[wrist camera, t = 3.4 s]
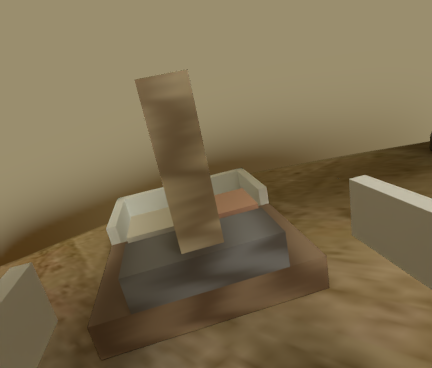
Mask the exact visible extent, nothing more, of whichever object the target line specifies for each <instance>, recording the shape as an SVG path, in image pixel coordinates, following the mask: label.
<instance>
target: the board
mask: <svg viewBox="0 0 432 368" xmlns="http://www.w3.org/2000/svg"><path fill="white" fill-rule="evenodd" d="M261 207H262V208H263V209H264V210H265V211H266V212H267V213H268V214H269V215H270V216H271V217H272V218H273V219H274V220H275V221H276V222H277V223H278V224H279V226H280V227H281V228H282V229H283V230H284V231H285V232H286V239H287V247H288V254H289V262H290V267H287V268H284V269H280V270H277V271H274V272H271V273H267V274H264V275H261V276H257V277H254V278H251V279H247V280H244V281H241V282H237V283H234V284H231V285H227V286H224V287H221V288H217V289H214V290H211V291H208V292H204V293H201V294H198V295H194V296H191V297H188V298H184V299H181V300H178V301H174V302H171V303H168V304H164V305H161V306H158V307H154V308H151V309H148V310H144V311H141V312H138V313H135V314H131V313H130V310H129V308H128V305H127V302H126V299H125V296H124V294H123V291H122V288H121V285H120V282H119V280H118V278H119V273H120V268H121V263H122V258H123V254H124V249H125V244H127V243H128V241H126V242H122V243H119V244H115V245H112V247H111V250H110V253H109V257H108V260H107V263H106V267H105V270H104V273H103V277H102V280H101V284H100V287H99V290H98V294H97V297H96V300H95V304H94V307H93V310H92V314H91V317H90V320H89V324H88V327H87V328H88V330H89V333H90V335H91V337H92V340H93V342H94V345H95V347H96V349H97V352H98V354H99V356H100V359H101V360H103V359H106V358H110V357H113V356H116V355H119V354H122V353H125V352H129V351H132V350H135V349H138V348H141V347H144V346H147V345H151V344H154V343H157V342H160V341H163V340H166V339H169V338H173V337H176V336H179V335H182V334H185V333H188V332H192V331H195V330H198V329H201V328H204V327H207V326H210V325H214V324H217V323H220V322H223V321H226V320H229V319H232V318H236V317H239V316H242V315H245V314H248V313H251V312H254V311H258V310H261V309H264V308H267V307H270V306H273V305H277V304H280V303H283V302H286V301H289V300H292V299H295V298H299V297H302V296H305V295H308V294H311V293H314V292H317V291H321V290H324V289H327V288H329V278H328V267H327V256H326V255H325V254H324V253H323V252H322V251H321V250H320V249H319V248H318V247H317V246H315V245H314V244H313V243H312V242H311V241H310V240H309V239H308V238H307V237H306V236H304V235H303V234H302V233H301V232H300V231H299V230H298V229H297V228H296V227H295V226H293V225H292V224H291V223H290V222H289V221H288V220H287V219H286V218H285V217H284V216H283V215H281V214H280V213H279V212H278V211H277V210H276V209H275V208H274V207H273V206H272V205H270V204H269V203H268V204H264V205H260V206H258V208H261Z"/></svg>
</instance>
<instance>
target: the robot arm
mask: <svg viewBox="0 0 432 368" xmlns="http://www.w3.org/2000/svg"><path fill="white" fill-rule="evenodd" d="M430 150H431V151H432V133H431V136H430ZM349 186H350V205H351V224H352V235H353V236H354V237H356V238H357V239H358V240H360V241H361V242H363V243H364V244H366V245H367V246H369V247H370V248H372V249H373V250H375V251H376V252H377V253H379V254H380V255H382V256H383V257H385V258H386V259H388V260H389V261H391V262H392V263H394V264H395V265H396V266H398V267H399V268H401V269H402V270H404V271H405V272H407V273H408V274H410V275H411V276H413V277H414V278H415V279H417V280H418V281H420V282H421V283H423V284H424V285H426V286H427V287H429V288H430V289H432V198H429V197H426V196H423V195H420V194H417V193H415V192H412V191H409V190H406V189H403V188H401V187H398V186H395V185H392V184H389V183H386V182H384V181H381V180H378V179H375V178H372V177H370V176H367V175H363V176H359V177H355V178H351V179H349ZM57 322H58V320H57V317H56V315H55V313H54V311H53V309H52V306H51V304H50V302H49V300H48V297H47V295H46V293H45V291H44V289H43V286H42V284H41V282H40V280H39V278H38V275H37V273H36V271H35V269H34V266H33V264H32V262H31V263H27V264H24V265H20V266H16V267H12V268H10V269H9V270H8V271H7V272H6V273H5V274H4V276H3V277H2V278H1V279H0V368H37V367H38V365H39V362H40V360H41V358H42V356H43V353H44V351H45V349H46V347H47V344H48V342H49V340H50V338H51V335H52V333H53V331H54V329H55V326H56V324H57Z"/></svg>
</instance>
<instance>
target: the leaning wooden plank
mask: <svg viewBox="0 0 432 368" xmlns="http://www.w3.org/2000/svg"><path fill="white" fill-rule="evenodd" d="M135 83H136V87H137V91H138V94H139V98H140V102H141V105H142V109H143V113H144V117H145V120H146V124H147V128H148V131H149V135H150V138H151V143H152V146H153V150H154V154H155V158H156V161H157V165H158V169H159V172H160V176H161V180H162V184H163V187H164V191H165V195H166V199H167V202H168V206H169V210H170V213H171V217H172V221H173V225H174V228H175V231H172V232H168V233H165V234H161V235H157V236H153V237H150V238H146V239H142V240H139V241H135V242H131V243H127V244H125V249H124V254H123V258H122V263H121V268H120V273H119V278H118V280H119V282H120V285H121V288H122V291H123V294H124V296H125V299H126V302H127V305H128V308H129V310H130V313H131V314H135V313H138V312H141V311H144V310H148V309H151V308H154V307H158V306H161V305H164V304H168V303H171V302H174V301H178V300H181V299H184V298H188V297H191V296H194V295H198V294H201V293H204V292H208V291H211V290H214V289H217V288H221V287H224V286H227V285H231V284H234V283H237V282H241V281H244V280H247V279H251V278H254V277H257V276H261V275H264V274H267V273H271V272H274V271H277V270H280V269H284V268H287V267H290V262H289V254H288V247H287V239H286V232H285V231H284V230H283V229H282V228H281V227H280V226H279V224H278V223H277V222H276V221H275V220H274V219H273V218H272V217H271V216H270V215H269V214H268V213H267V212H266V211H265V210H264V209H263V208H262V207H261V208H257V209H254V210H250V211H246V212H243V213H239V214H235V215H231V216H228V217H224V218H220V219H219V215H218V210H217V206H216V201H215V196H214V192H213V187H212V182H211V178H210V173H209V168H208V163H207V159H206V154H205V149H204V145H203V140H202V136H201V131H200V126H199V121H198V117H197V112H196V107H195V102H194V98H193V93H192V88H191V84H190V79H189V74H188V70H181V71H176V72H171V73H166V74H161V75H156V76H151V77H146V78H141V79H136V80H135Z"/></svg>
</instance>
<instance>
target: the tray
mask: <svg viewBox="0 0 432 368" xmlns="http://www.w3.org/2000/svg"><path fill="white" fill-rule="evenodd" d="M210 178H211V182H212V187H213V192H214V195H217V194H221V193H225V192H229V191H232V190H236V189H240V188H243V189H244V190H245V191H246V192H247V193H248V194H249V195H250V196H251V197H252V198H253V199H254V200H255V201H256V202H257V203H258V206H260V205H264V204H268V203H269V200H268V193H267V187H266V186H265V185H263V184H262V183H261V182H259V181H258V180H257V179H256V178H254V177H253V176H252V175H251V174H249V173H248V172H247V171H245V170H244V169H243V168H239V169H234V170H231V171H227V172H222V173H219V174H214V175H210ZM167 207H169V206H168V202H167V199H166V195H165V191H164V187H162V188H158V189H154V190H150V191H146V192H142V193H138V194H134V195H130V196H126V197H122V198H118V199H117V202H116V204H115V207H114V209H113V212H112V215H111V217H110V220H109V223H108V225H107V228H106V230H107V233H108V236H109V239H110V241H111V244H112V245H115V244H119V243H122V242H126V241H127V234H128V229H129V225H130V220H131V217H132V216H136V215H139V214H143V213H147V212H151V211H155V210H159V209H163V208H167Z"/></svg>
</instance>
